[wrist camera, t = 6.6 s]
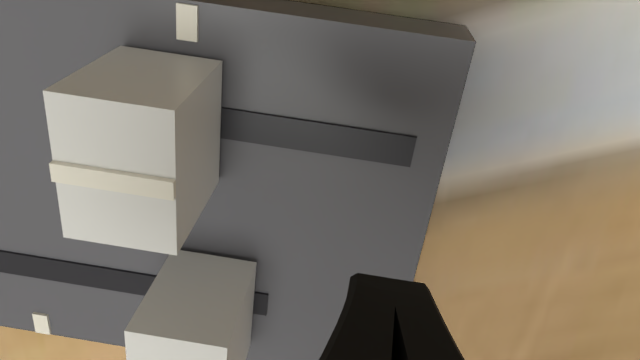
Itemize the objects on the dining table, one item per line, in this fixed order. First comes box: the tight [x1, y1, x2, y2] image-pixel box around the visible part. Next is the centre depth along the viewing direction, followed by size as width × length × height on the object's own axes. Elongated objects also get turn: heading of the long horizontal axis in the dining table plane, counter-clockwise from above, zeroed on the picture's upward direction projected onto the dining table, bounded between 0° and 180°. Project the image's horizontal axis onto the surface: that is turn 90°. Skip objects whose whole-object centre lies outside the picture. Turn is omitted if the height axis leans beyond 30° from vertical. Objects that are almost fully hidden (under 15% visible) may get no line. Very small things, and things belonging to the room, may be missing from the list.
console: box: [0, 0, 476, 360], centre depth 19 cm, size 17×14×2 cm
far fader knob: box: [124, 250, 257, 360], centre depth 18 cm, size 3×4×4 cm
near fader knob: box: [43, 46, 223, 256], centre depth 14 cm, size 3×4×4 cm
